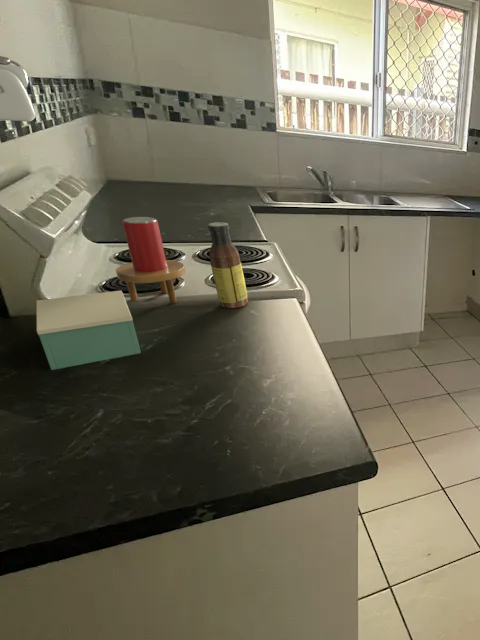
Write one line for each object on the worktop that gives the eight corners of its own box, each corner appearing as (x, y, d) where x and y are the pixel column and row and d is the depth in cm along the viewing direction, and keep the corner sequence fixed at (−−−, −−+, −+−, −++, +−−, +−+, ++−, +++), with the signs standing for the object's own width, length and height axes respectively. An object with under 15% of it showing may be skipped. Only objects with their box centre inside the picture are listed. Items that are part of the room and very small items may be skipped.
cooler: (141, 356, 90) (132, 319, 87) (52, 373, 82) (38, 333, 79) (131, 328, 100) (122, 294, 96) (50, 342, 92) (37, 304, 88)
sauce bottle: (244, 298, 120) (233, 219, 111) (251, 307, 116) (240, 225, 107) (215, 302, 116) (200, 221, 107) (221, 311, 112) (206, 227, 103)
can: (126, 268, 109) (114, 219, 104) (152, 262, 115) (141, 215, 110) (149, 273, 108) (137, 224, 103) (174, 266, 113) (164, 219, 109)
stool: (110, 303, 110) (100, 270, 107) (160, 286, 122) (153, 256, 118) (155, 313, 107) (147, 279, 104) (202, 295, 119) (197, 265, 116)
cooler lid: (132, 320, 86) (131, 316, 86) (38, 335, 78) (36, 330, 78) (122, 293, 96) (121, 290, 96) (37, 304, 88) (36, 300, 88)
